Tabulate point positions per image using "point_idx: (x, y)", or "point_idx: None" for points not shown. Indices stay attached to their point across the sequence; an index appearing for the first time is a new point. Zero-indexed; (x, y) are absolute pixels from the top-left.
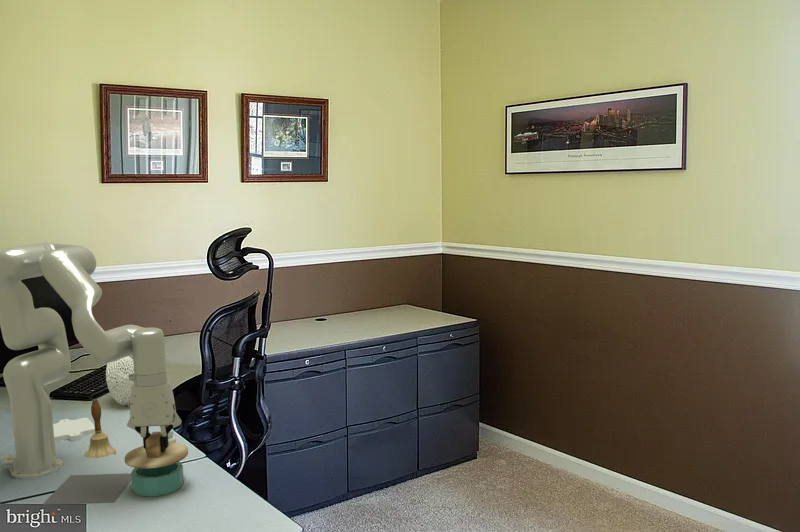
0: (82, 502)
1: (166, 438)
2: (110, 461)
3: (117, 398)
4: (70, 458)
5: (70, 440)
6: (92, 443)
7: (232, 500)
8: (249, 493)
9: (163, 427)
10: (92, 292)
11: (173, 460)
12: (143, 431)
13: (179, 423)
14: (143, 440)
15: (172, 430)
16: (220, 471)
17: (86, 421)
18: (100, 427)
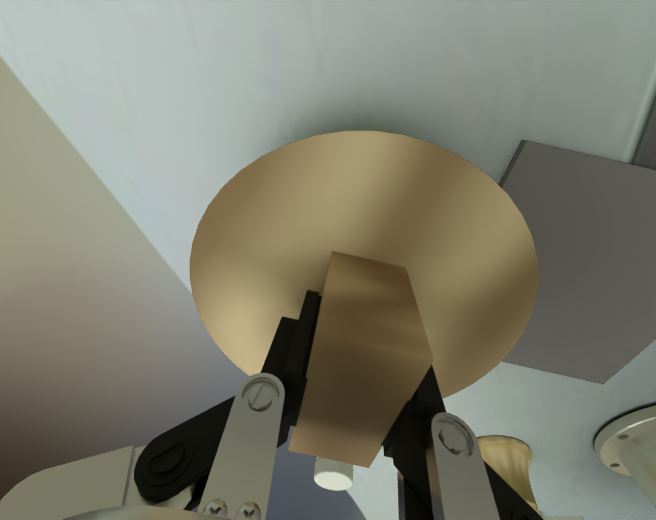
0: (649, 177)
1: (264, 366)
2: (475, 420)
3: None
4: (563, 458)
5: (539, 512)
6: (529, 490)
7: (66, 34)
8: (32, 91)
9: (231, 477)
10: None
11: (235, 176)
12: (461, 480)
13: (26, 491)
14: (437, 393)
15: (314, 476)
16: (191, 290)
17: None
18: None
